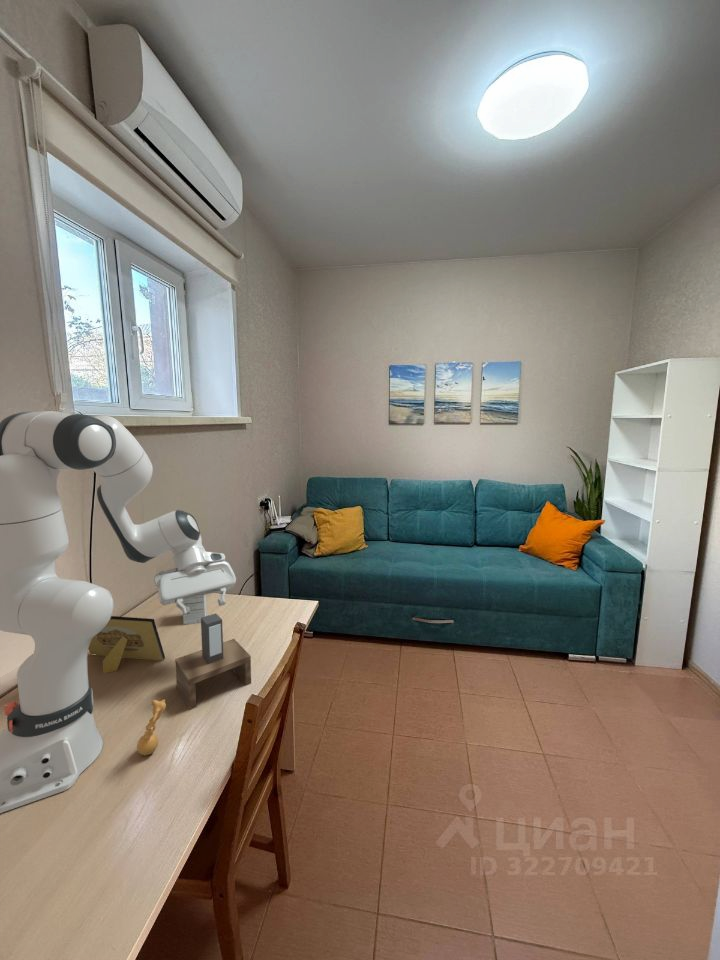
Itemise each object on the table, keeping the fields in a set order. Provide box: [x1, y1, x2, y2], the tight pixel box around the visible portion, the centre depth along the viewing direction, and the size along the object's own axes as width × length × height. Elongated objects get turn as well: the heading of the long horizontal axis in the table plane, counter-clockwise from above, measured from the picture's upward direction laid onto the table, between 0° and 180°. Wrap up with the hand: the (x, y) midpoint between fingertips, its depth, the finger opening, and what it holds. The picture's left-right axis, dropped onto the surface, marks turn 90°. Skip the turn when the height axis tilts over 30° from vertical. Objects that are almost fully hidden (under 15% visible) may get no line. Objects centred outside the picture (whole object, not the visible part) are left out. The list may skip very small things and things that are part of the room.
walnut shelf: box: [175, 638, 252, 710], centre depth 105 cm, size 16×11×8 cm
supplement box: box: [182, 595, 207, 625], centre depth 140 cm, size 7×7×13 cm
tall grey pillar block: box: [200, 613, 224, 664], centre depth 104 cm, size 4×5×11 cm
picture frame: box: [88, 615, 166, 674], centre depth 112 cm, size 23×9×15 cm, turn 84°
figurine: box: [136, 699, 167, 756], centre depth 83 cm, size 8×6×12 cm
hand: (205, 609), depth 107 cm, fingers open, 8 cm apart
